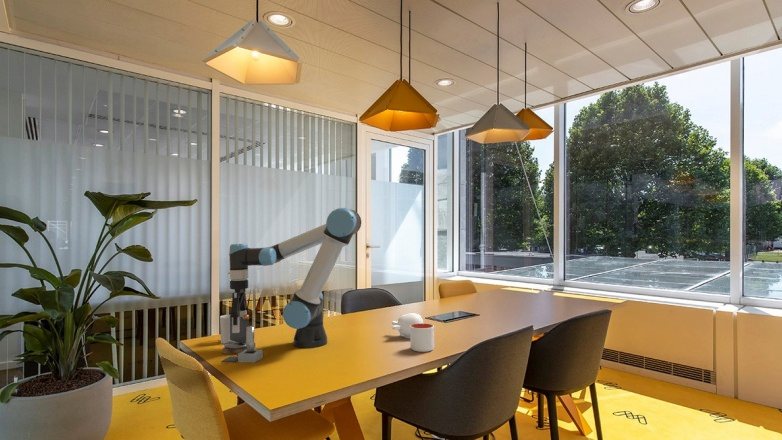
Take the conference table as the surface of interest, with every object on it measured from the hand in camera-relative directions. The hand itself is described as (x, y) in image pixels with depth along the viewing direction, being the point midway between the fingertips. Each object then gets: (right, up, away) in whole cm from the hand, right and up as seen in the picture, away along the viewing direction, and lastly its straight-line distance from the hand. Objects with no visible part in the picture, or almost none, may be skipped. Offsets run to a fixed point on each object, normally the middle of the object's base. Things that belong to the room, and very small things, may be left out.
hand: (239, 329), depth 187 cm
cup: (+78, -8, -2) cm, 79 cm away
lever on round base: (0, -7, 0) cm, 7 cm away
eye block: (+9, -9, -14) cm, 19 cm away
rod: (+9, -9, -14) cm, 19 cm away
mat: (+2, -9, -14) cm, 16 cm away
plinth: (0, -9, 0) cm, 9 cm away
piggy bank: (+73, -9, +20) cm, 76 cm away
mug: (-11, -10, +16) cm, 21 cm away
